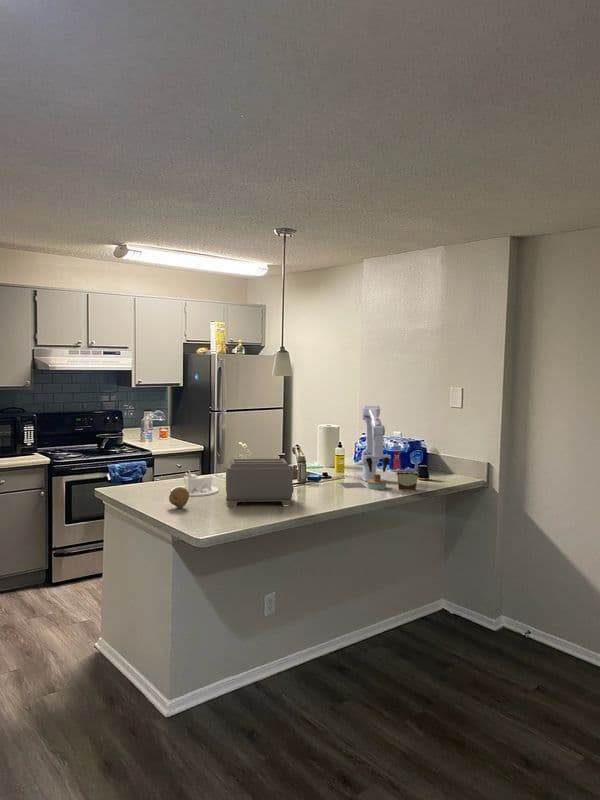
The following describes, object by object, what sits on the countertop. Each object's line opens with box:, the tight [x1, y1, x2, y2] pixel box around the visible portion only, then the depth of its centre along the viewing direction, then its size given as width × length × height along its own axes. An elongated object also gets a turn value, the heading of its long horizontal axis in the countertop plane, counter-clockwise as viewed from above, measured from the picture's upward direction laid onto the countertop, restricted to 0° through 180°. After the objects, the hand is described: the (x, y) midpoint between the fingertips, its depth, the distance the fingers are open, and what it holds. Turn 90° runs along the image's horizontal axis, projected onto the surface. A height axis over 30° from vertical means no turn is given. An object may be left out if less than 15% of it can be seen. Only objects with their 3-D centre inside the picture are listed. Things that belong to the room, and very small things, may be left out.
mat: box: [339, 482, 367, 488], centre depth 352 cm, size 12×12×1 cm
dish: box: [170, 469, 219, 497], centre depth 329 cm, size 25×25×11 cm
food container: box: [396, 469, 420, 491], centre depth 346 cm, size 12×6×10 cm, turn 84°
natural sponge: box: [168, 486, 190, 509], centre depth 292 cm, size 9×9×10 cm
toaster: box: [225, 458, 298, 508], centre depth 307 cm, size 19×35×20 cm, turn 99°
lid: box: [366, 473, 388, 485], centre depth 347 cm, size 11×11×4 cm
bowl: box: [367, 483, 387, 490], centre depth 347 cm, size 10×10×3 cm
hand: (377, 471), depth 347 cm, fingers open, 7 cm apart
